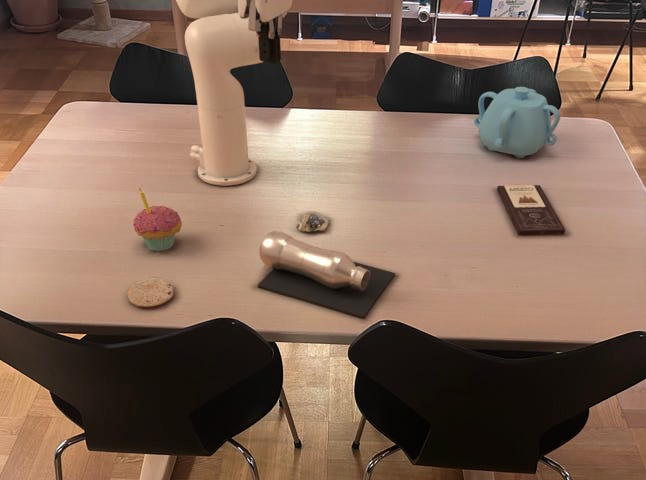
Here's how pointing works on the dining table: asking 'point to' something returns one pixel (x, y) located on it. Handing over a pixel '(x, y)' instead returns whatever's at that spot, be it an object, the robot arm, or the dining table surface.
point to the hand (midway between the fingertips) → (270, 60)
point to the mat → (329, 290)
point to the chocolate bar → (530, 210)
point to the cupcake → (157, 225)
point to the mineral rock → (312, 223)
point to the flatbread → (150, 292)
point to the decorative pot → (516, 121)
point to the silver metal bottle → (312, 262)
